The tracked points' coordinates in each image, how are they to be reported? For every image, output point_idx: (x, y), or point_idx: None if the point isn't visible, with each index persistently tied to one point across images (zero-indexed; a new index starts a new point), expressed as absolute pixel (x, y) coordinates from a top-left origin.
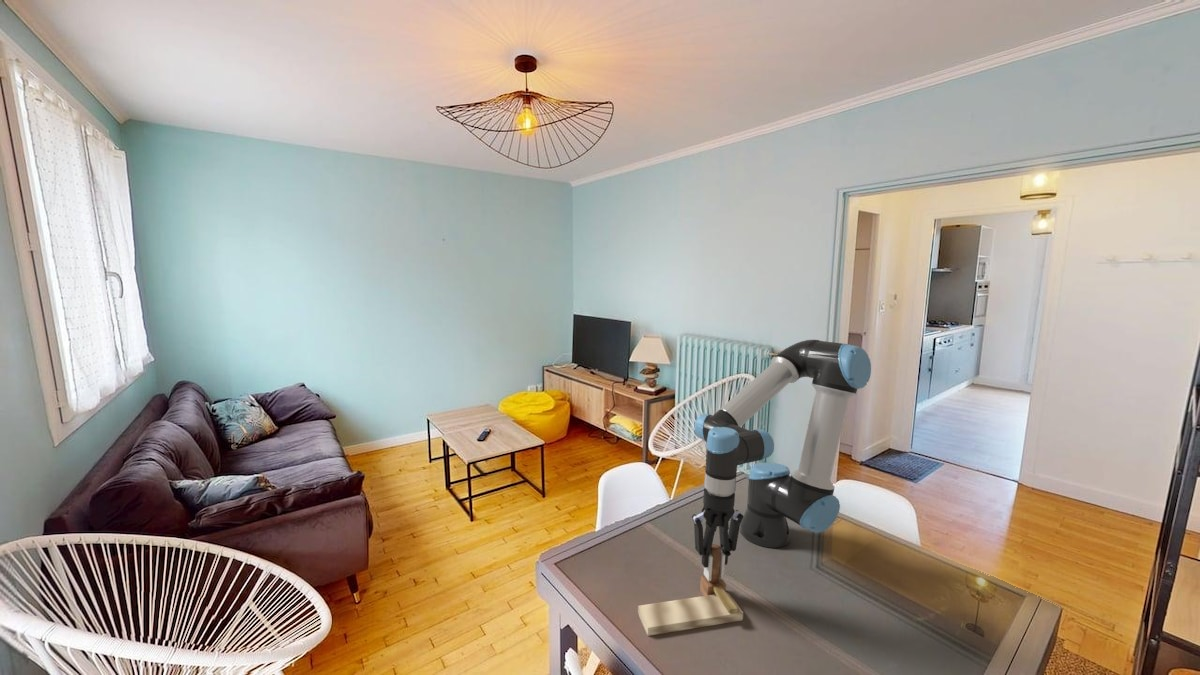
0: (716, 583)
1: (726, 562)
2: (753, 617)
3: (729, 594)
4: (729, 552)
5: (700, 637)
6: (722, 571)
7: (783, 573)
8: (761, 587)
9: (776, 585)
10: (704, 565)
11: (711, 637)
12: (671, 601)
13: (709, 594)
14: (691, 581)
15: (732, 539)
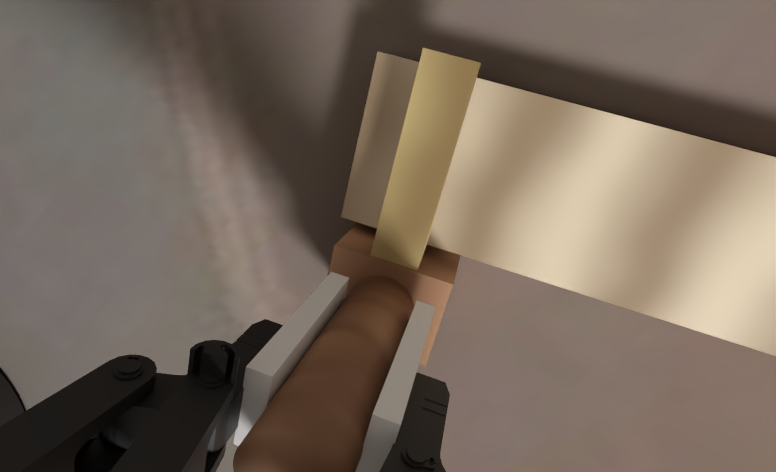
0: (384, 277)
1: (258, 329)
2: (318, 48)
3: (346, 202)
4: (193, 365)
5: (711, 65)
6: (323, 299)
7: (4, 204)
8: (147, 188)
9: (76, 163)
10: (446, 395)
11: (650, 35)
12: (707, 328)
13: (445, 259)
14: None
15: (50, 462)
